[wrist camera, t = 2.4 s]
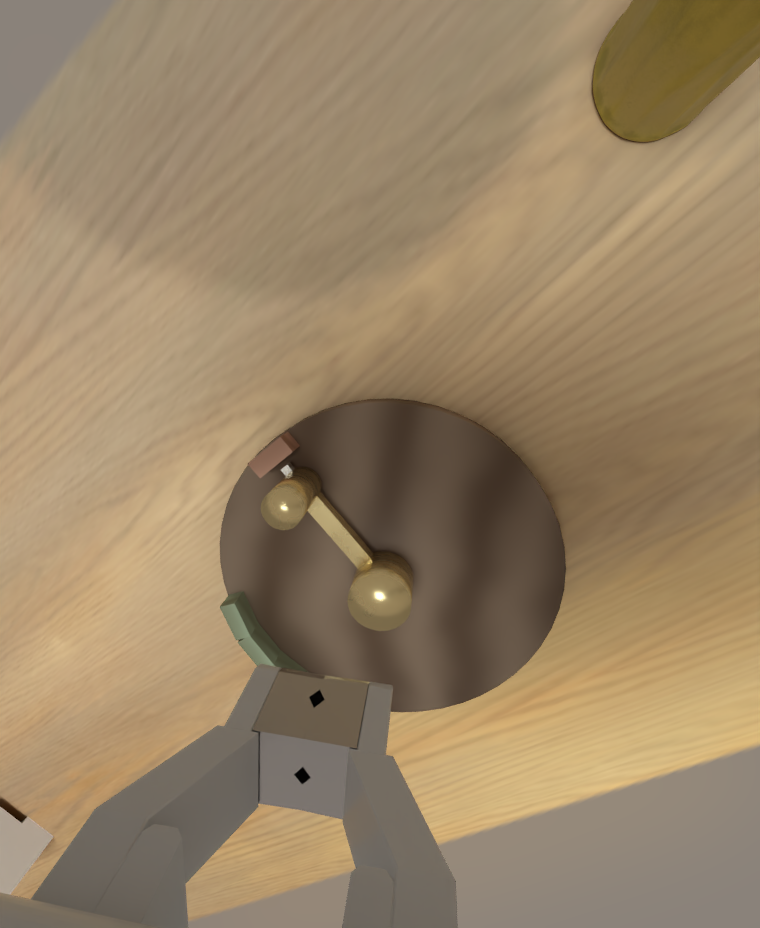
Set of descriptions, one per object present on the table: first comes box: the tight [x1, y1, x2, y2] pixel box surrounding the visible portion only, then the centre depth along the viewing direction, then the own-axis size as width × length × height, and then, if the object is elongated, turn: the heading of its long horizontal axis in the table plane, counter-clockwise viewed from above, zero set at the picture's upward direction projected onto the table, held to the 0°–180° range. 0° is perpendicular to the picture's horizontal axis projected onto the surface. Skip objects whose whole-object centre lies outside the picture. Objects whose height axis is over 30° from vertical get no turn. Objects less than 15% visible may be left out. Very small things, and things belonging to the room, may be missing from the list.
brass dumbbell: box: [261, 462, 413, 631], centre depth 27 cm, size 12×4×4 cm, turn 39°
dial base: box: [220, 399, 566, 712], centre depth 30 cm, size 24×24×4 cm
